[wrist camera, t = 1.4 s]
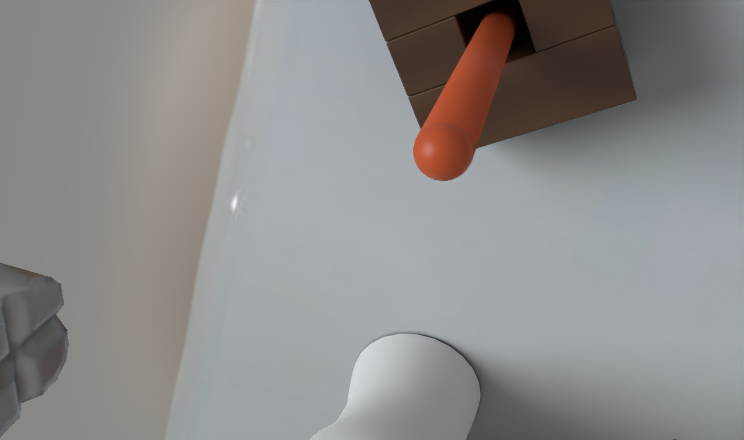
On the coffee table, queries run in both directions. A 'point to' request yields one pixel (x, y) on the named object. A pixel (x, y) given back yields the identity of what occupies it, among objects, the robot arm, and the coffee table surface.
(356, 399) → the cup
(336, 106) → the coffee table surface
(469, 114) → the orange thin rod
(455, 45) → the brown wooden square block
